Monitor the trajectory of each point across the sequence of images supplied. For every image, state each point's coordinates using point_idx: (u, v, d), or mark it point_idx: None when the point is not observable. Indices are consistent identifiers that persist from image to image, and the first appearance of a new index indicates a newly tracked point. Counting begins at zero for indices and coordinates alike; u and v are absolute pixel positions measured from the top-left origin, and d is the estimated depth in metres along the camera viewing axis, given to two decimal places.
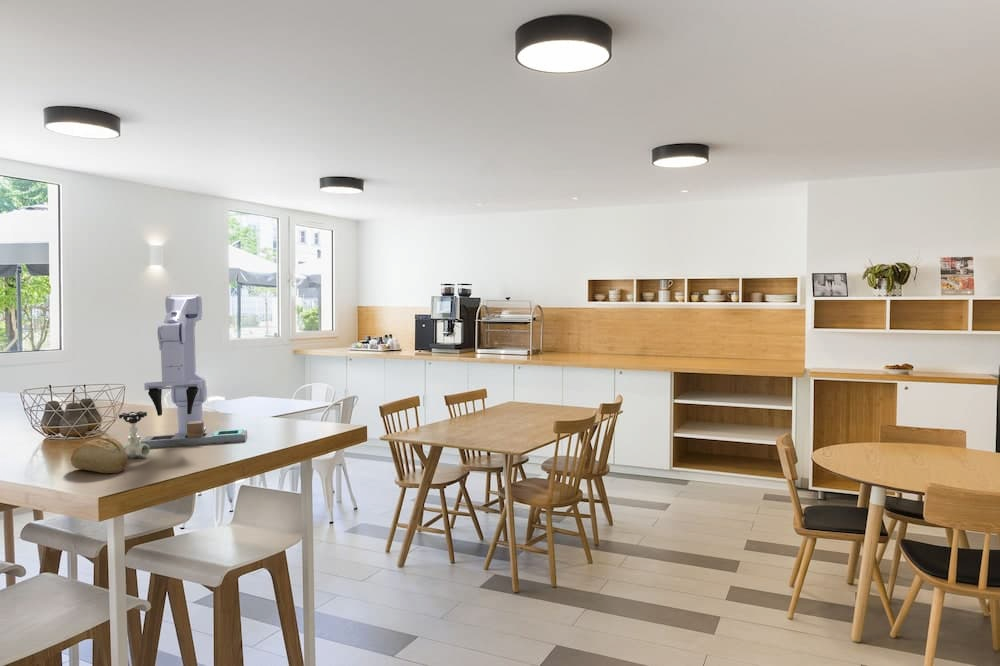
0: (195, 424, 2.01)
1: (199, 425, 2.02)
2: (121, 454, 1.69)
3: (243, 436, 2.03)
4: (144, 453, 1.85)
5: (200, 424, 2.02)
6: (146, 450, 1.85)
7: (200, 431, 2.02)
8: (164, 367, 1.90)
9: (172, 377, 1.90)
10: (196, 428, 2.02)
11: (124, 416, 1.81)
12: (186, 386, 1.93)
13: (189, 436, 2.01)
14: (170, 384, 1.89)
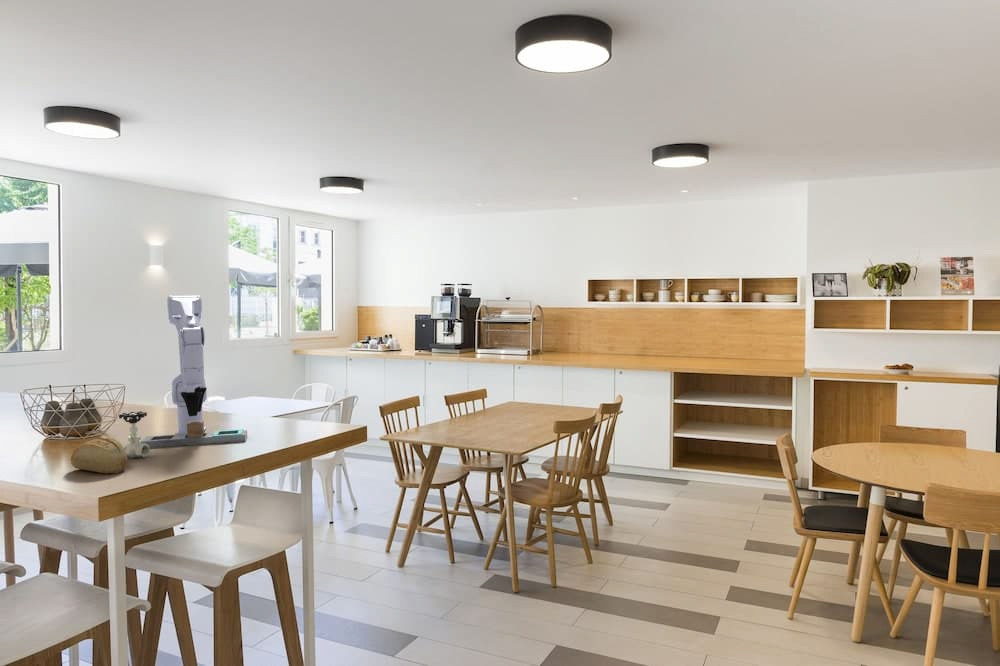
0: (195, 424, 2.01)
1: (199, 425, 2.02)
2: (121, 454, 1.69)
3: (243, 436, 2.03)
4: (144, 453, 1.85)
5: (200, 424, 2.02)
6: (146, 450, 1.85)
7: (200, 431, 2.02)
8: None
9: (182, 378, 2.01)
10: (196, 428, 2.02)
11: (124, 416, 1.81)
12: None
13: (189, 436, 2.01)
14: (179, 384, 2.02)
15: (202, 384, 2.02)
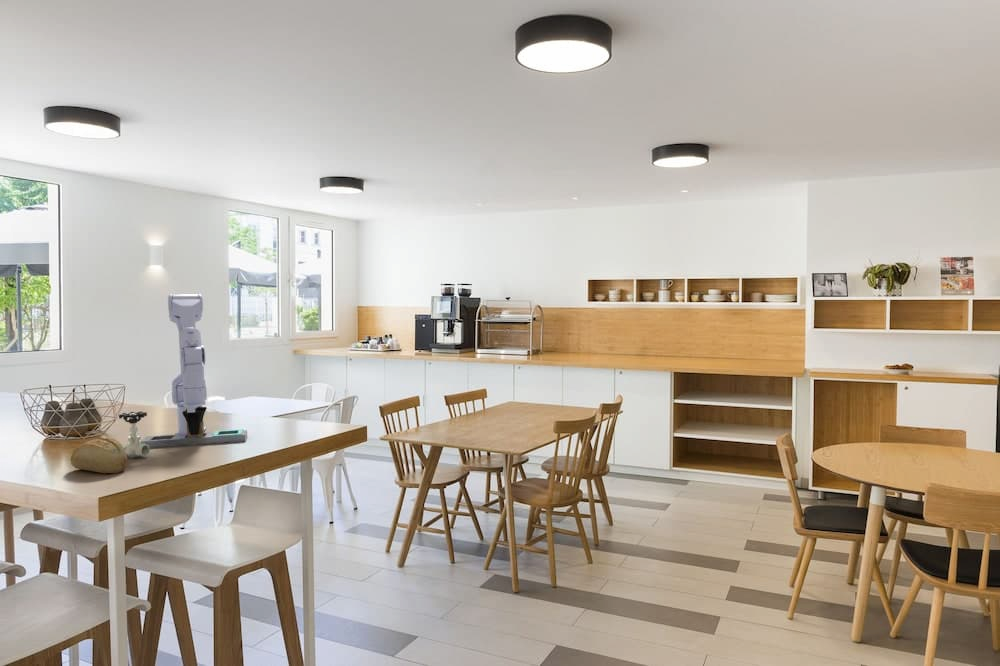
0: None
1: None
2: (121, 454, 1.69)
3: (243, 436, 2.03)
4: (144, 453, 1.85)
5: (200, 424, 2.02)
6: (146, 450, 1.85)
7: (200, 431, 2.02)
8: None
9: (183, 398, 2.02)
10: None
11: (124, 416, 1.81)
12: None
13: (189, 436, 2.01)
14: (179, 404, 2.02)
15: (203, 404, 2.02)
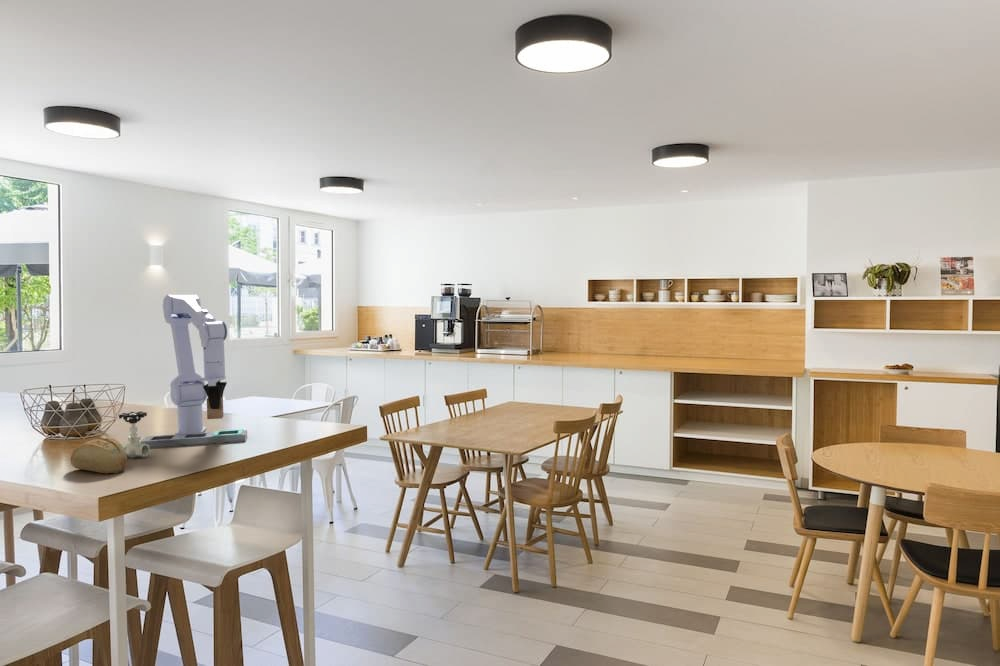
0: None
1: None
2: (121, 454, 1.69)
3: (243, 436, 2.03)
4: (144, 453, 1.85)
5: (220, 399, 2.03)
6: (146, 450, 1.85)
7: (220, 406, 2.03)
8: None
9: (204, 372, 2.03)
10: None
11: (124, 416, 1.81)
12: None
13: (209, 411, 2.02)
14: (200, 378, 2.03)
15: (223, 378, 2.03)
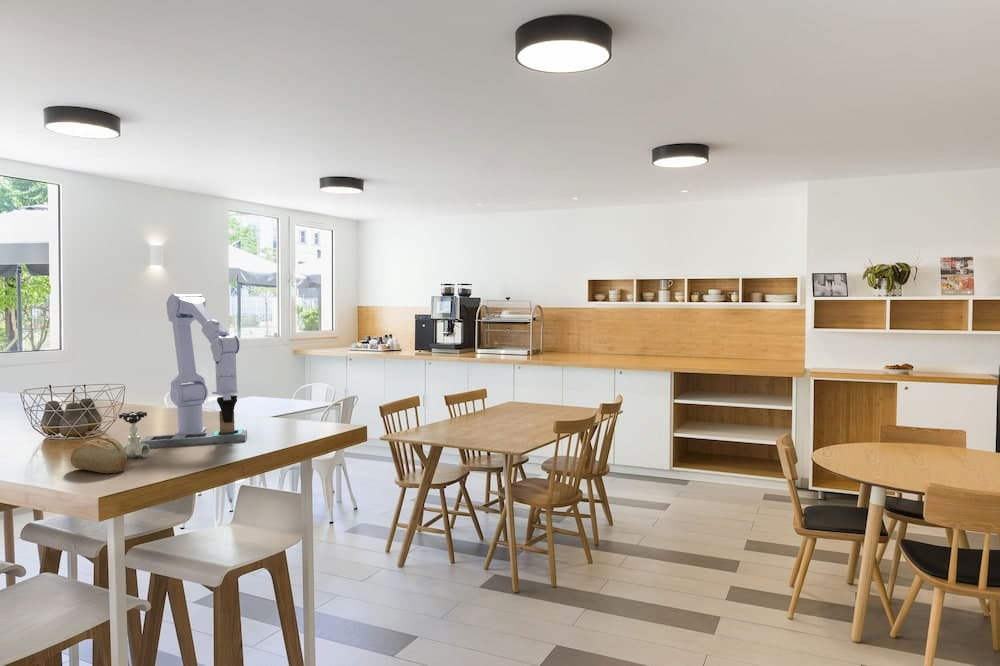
0: None
1: None
2: (121, 454, 1.69)
3: (243, 436, 2.03)
4: (144, 453, 1.85)
5: None
6: (146, 450, 1.85)
7: (232, 420, 2.04)
8: None
9: (216, 386, 2.04)
10: None
11: (124, 416, 1.81)
12: None
13: (221, 425, 2.03)
14: None
15: (236, 392, 2.05)
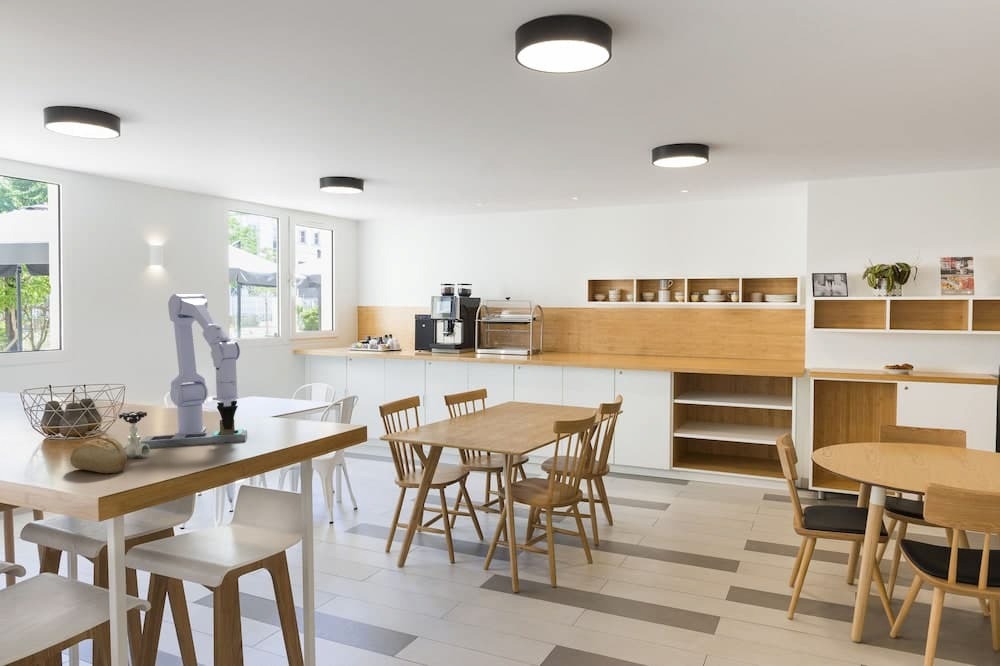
0: None
1: None
2: (121, 454, 1.69)
3: (243, 436, 2.03)
4: (144, 453, 1.85)
5: (233, 422, 2.04)
6: (146, 450, 1.85)
7: (233, 429, 2.04)
8: None
9: None
10: None
11: (124, 416, 1.81)
12: None
13: (222, 434, 2.03)
14: None
15: (236, 398, 2.05)
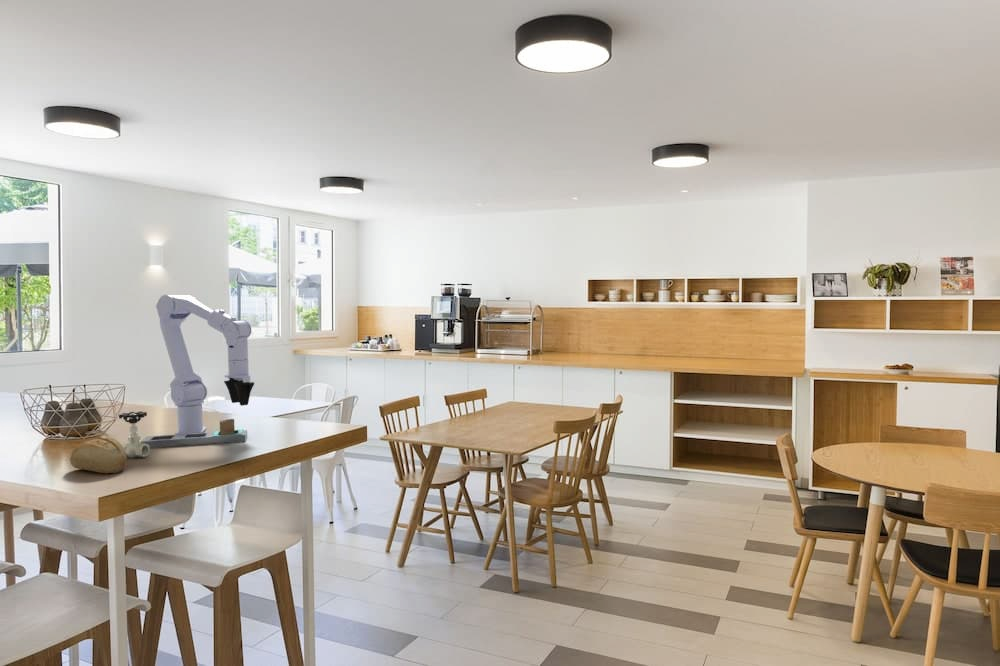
0: (228, 422, 2.04)
1: (232, 423, 2.04)
2: (120, 454, 1.69)
3: (243, 436, 2.03)
4: (144, 453, 1.85)
5: (233, 422, 2.04)
6: (146, 450, 1.85)
7: (233, 429, 2.05)
8: None
9: (229, 370, 2.09)
10: (229, 426, 2.04)
11: (124, 416, 1.81)
12: (241, 379, 2.09)
13: (222, 434, 2.03)
14: (225, 376, 2.09)
15: None
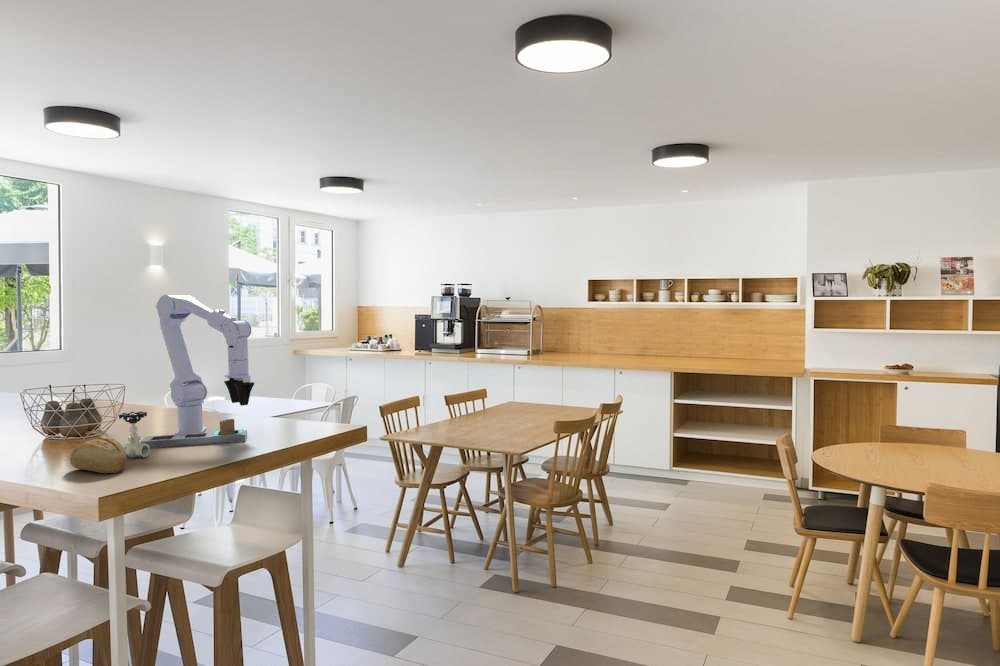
0: (228, 422, 2.04)
1: (232, 423, 2.04)
2: (120, 454, 1.69)
3: (243, 436, 2.03)
4: (144, 453, 1.85)
5: (233, 422, 2.04)
6: (146, 450, 1.85)
7: (233, 429, 2.04)
8: None
9: (229, 370, 2.10)
10: (229, 426, 2.04)
11: (124, 416, 1.81)
12: (241, 379, 2.09)
13: (222, 434, 2.03)
14: (225, 376, 2.09)
15: None
